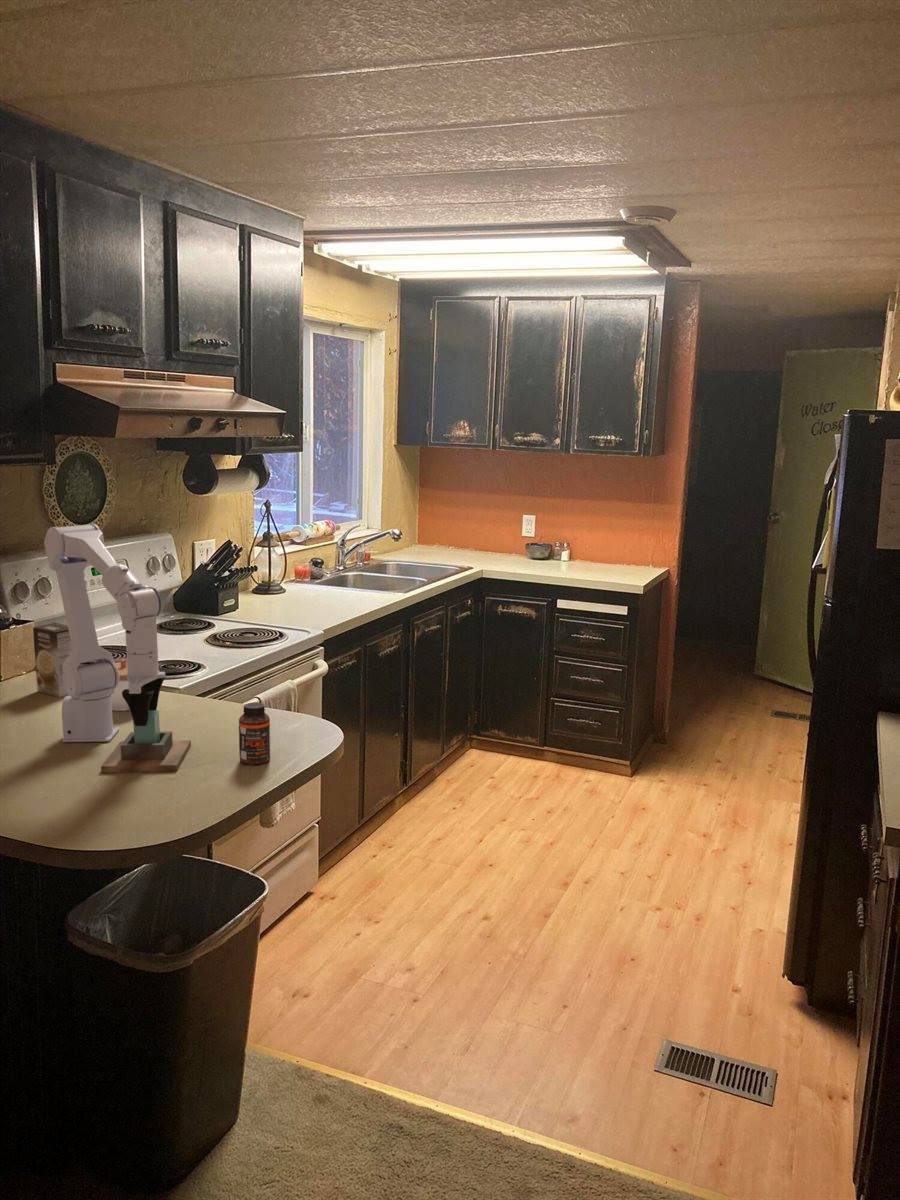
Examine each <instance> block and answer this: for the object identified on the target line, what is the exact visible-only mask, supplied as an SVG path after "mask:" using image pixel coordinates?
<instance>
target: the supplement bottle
mask: <svg viewBox="0 0 900 1200" xmlns="http://www.w3.org/2000/svg"><path fill="white" fill-rule="evenodd" d="M238 738H239V739H238V747H239V750H238V751H239V761H240V762H241V763H242V764H244V763H245V765H248V764H249V765H250V766H255V765H257V764H258V765H262V764H266V763H267V762H269V761H270V760H271V719H270V716H269V715H268V714H267V713H266V710H265V704H264V703H262V702H255V701H251V702H248V703H245V704H244V705H243V713H242V715H240V717H239V718H238ZM265 762H266V763H265ZM258 765H257V766H258Z"/></svg>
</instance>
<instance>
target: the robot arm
mask: <svg viewBox="0 0 900 1200" xmlns="http://www.w3.org/2000/svg"><path fill="white" fill-rule="evenodd" d="M43 543H44V549H45V554H46V558H47V563H48V565H49V569H50V570H53V571H55V573H56V579H57V581H58V587H59V591H60V596H61V601H62V605H63V611H64V614H65V619H66V623H67V625H68V629H69V633H70V638H71V643H72V647H73V652H72V653H71V654H70V655H69V656H68V658H67V659H66V660H65V661H64V662H63V664H62V665H63V684H64V688H65V690H66V692H67V693H68V694H69V695H66V696H64V698H63V701H62V704H61V719H62V734H63V735H62V736H63V737H62V738H63V739H62V742H63V743H86V742H87V743H90V742H92V743H93V742H95V743H97V742H99V743H100V742H110V741H111V740H112V738H114V736H115V735H116V734H117V733H118V731H120V727H116V726H115V727H114V722H113V710H112V703H111V694H113V693H114V689H115V688H116V687H117V686H118V683H119V678H120V676H119V671H118V668H117V666H116V665H115V663H116V662H115V660H114V657H113V654H112V652H110V651H108V650H106V649H104V648H103V647H101V646H100V644H99V640H98V636H97V630H96V626H95V625H96V624H95V622H94V618H93V612H92V607H91V604H90V599H89V593H88V590H87V585H86V584H87V583H86V582H85V580H86V579H85V575H84V572H85V570H86V568H87V567H89V566H91V567H93V568H94V569H95V570H96V571H97V572H98V573H99V574H101V576H102V577H101V584H102V586H103V588H105V590H106V591H107V592H108V593H109V594H110V596H112V598H113V599H114V600H115V601H116V602H117V604H116V605H117V611H118V614H119V616H120V619H121V626H122V628H123V630H125V651H126V662H127V670H128V673H127V680H128V682H129V689H124V690H123V691H122V696H123V698H124V699H125V701H126V702H127V704H128V706H129V709H130V710H129V711H130V713H131V717H132V722H133V721H134V724H135V726H146V725H147V722H148V714H149V710H158V709H157V708H158V703H159V696H160V691H161V688H162V685H163V683H164V680H165V677H166V672H165V671H160V670H159V647H158V646H159V645H158V630H157V629H158V627H157V617H159V616H160V615H161V614H162V611H163V601H162V597H161V595H160V593H159V591H158V590H157V588H156V587H155V586H148V585H147V584H143V583H142V582H141V581H140V580H139V578H138V577H136V575H135V574H134V573H133V571H131V570H130V568H129V567H128V566H127V565H125V564H118V563H117V562H116V561H115V559H114V558H113V556H112V555H111V553H110V552H109V550H108V549H107V547H106V546H105V538H104V533H103V531H102V530H101V529H100V528H99V526H98V525H97V524H95V523H88V524H83V525H82V524H81V525H68V526H59V527H57V526H51V527H49V528H48V530H47V532H46V534H45V537H44V541H43ZM90 662H93V663H90ZM86 663H89V664H86ZM80 664H83V665H80ZM78 665H79V666H78Z"/></svg>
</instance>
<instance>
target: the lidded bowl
mask: <svg viewBox="0 0 900 1200" xmlns="http://www.w3.org/2000/svg"><path fill="white" fill-rule="evenodd" d="M115 665H116V666H117V668H118V671H119V676H120V678H119V683H118V686H117V687H116V688H115V689H114V693H113V694H111V703H112V711H115V712H116V711H117V712H127V711H126V710H129V711H130V709H129V706H128V704H127V702H126V701H125V699H124V698H123V696H122V691H123V690H124V689H129V682H128V680H127V673H128V670H127V659H125V658H123V659H120V661H117V662H115Z"/></svg>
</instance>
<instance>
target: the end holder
mask: <svg viewBox="0 0 900 1200" xmlns="http://www.w3.org/2000/svg"><path fill="white" fill-rule="evenodd" d="M191 747H192V741H191V740H188V739H187V740H173V731H172V730H169V731H168V730H167V731H166V730H165V731H162V730H160V743H138V744H135V743H134V731H130V733H129V734H128V735H127V736H126V737H125V739H124V740H123V741H119V742H118V744H117V745H116V746H115V748H114V749H113V750H112V752H111V753H110V754H109V755H108V757H107V758H106V759H105V760H104V762H103V763H102V765H101V766H100V773H136V772H135V771H141V772H140V773H143V772H142V771H145V772H147V771H149V773H150V772H178V770H179V768H180V766H181V765H182V763H183V761H184V760H185V757H187V755H188V753H189V751H190V749H191ZM188 750H189V751H188ZM126 771H127V772H126ZM128 771H130V772H128ZM133 771H134V772H133Z"/></svg>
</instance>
